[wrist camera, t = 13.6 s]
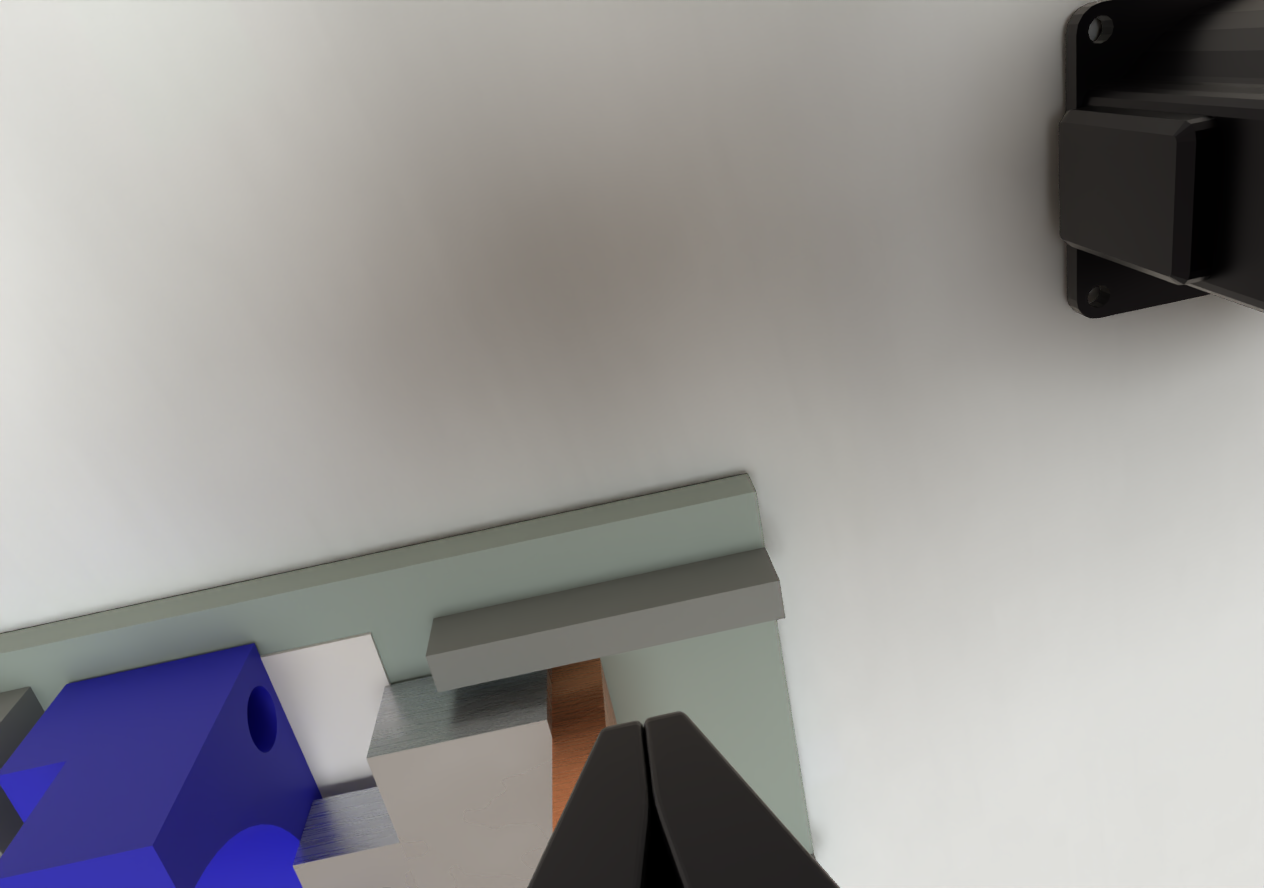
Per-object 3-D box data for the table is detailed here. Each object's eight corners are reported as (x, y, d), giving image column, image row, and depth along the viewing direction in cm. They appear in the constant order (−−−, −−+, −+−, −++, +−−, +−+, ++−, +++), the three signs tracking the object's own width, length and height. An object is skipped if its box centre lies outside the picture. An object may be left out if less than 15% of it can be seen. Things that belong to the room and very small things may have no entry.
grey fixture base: (747, 473, 22) (787, 556, 18) (814, 887, 28) (855, 1015, 24) (-28, 639, 22) (-145, 756, 18) (194, 1020, 28) (139, 1168, 24)
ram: (595, 640, 22) (609, 813, 17) (656, 876, 25) (683, 1080, 20) (284, 707, 22) (205, 899, 17) (383, 935, 25) (342, 1154, 20)
